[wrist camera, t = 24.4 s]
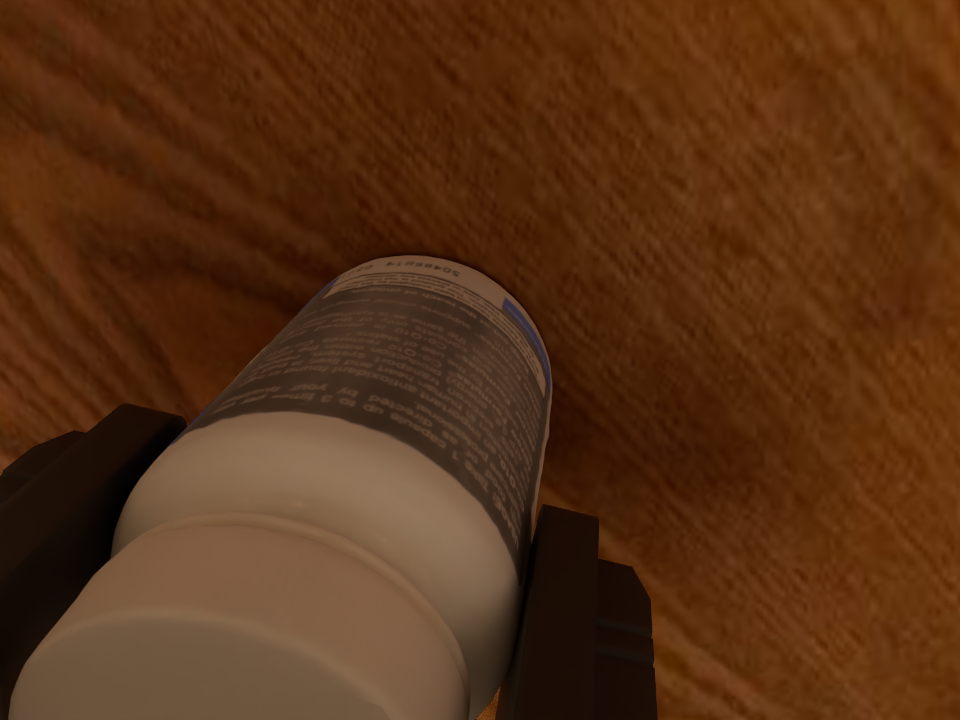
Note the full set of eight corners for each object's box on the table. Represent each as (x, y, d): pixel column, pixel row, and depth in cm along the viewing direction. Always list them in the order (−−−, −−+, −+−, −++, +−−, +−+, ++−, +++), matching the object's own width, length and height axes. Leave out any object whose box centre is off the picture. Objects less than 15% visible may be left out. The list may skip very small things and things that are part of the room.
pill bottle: (278, 250, 14) (-122, 552, 6) (552, 248, 13) (472, 585, 6) (314, 485, 16) (41, 933, 8) (556, 495, 15) (500, 995, 8)
